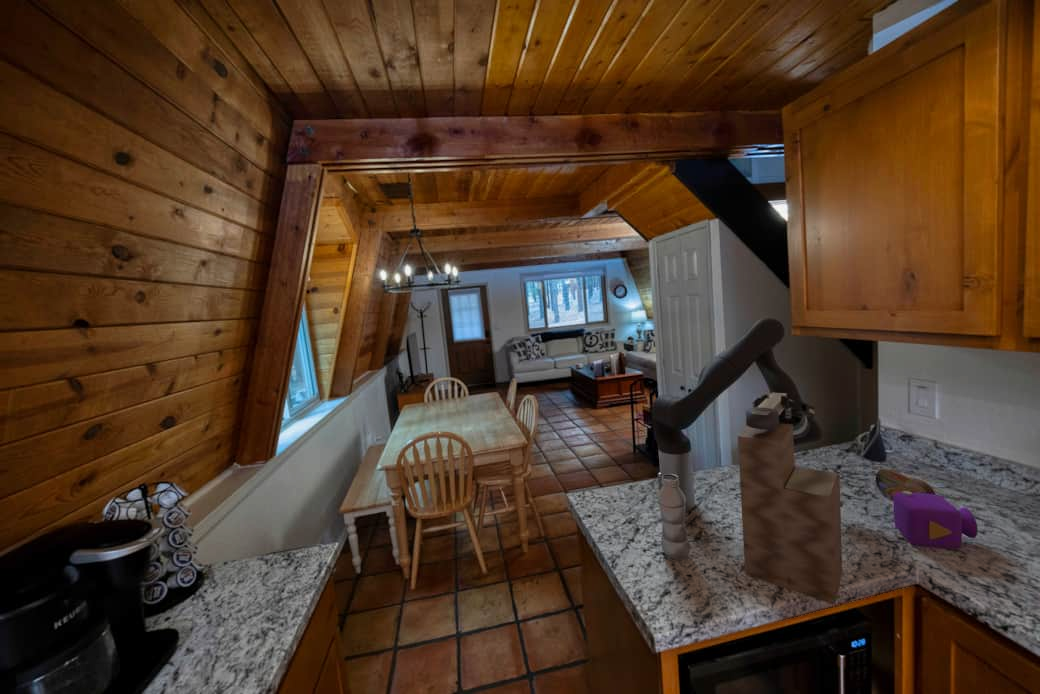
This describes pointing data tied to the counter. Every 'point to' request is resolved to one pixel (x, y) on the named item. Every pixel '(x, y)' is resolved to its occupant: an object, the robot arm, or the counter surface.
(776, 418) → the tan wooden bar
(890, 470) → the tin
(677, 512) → the plastic bottle
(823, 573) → the step stand
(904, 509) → the toy camera
